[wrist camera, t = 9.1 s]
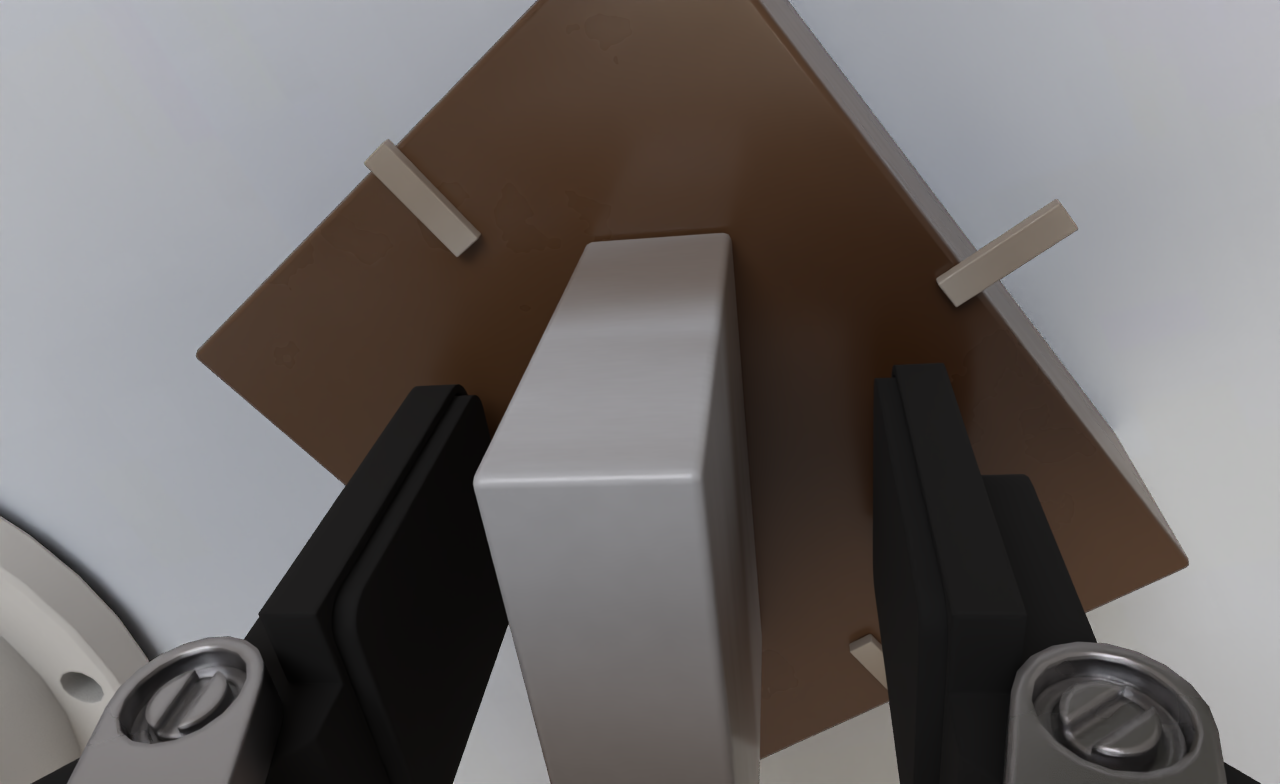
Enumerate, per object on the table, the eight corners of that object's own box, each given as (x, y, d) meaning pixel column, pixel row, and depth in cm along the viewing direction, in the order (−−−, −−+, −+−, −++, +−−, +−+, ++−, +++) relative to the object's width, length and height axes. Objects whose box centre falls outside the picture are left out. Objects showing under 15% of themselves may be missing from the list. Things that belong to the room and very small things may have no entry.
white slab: (585, 239, 10) (456, 502, 6) (730, 230, 10) (699, 497, 6) (649, 637, 13) (591, 993, 9) (762, 638, 13) (756, 1006, 9)
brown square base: (252, 301, 15) (133, 403, 12) (756, -216, 10) (749, -241, 8) (669, 676, 18) (650, 825, 15) (1191, 401, 13) (1296, 539, 11)
